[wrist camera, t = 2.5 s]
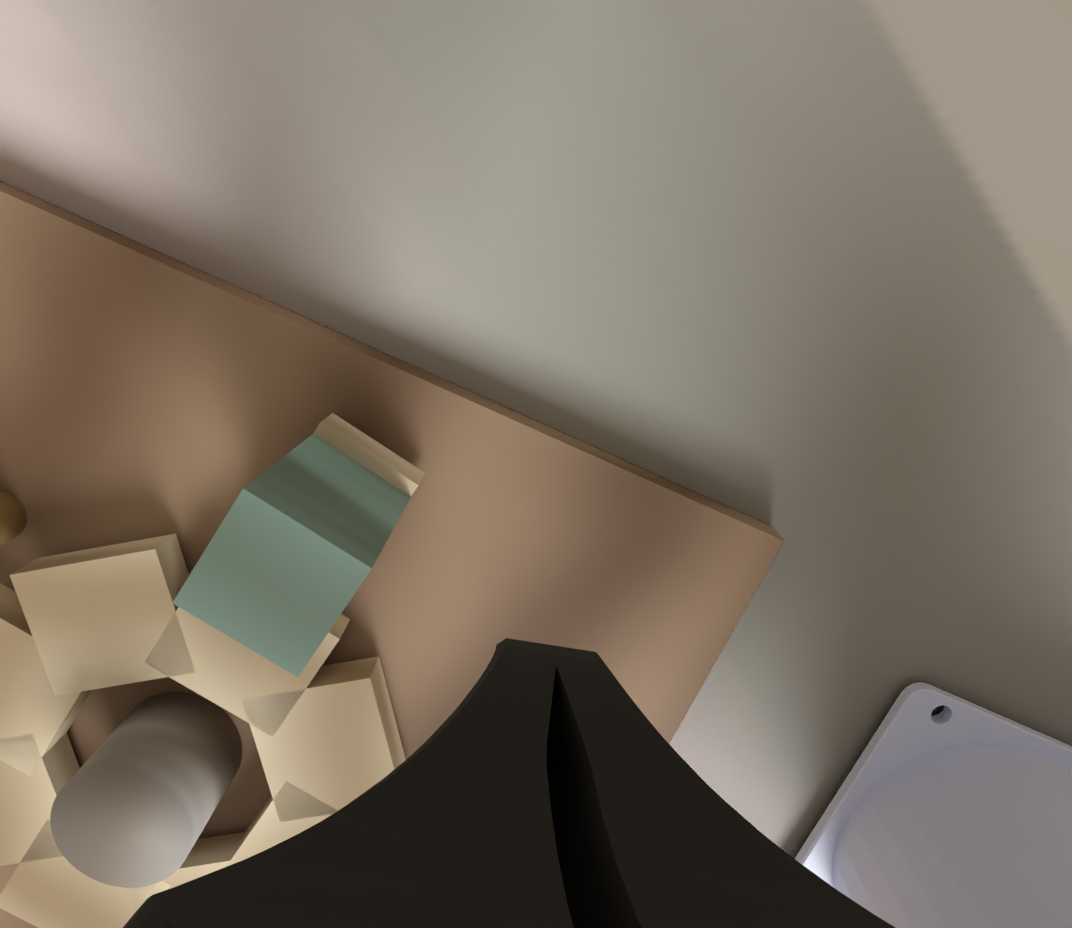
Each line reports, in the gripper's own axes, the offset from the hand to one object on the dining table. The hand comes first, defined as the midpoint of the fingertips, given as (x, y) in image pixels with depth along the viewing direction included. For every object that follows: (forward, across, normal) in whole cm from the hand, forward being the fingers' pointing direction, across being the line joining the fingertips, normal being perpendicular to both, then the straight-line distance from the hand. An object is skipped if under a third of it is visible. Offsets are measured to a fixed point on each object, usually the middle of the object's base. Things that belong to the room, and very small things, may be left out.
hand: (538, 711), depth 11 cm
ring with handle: (+8, +7, +6) cm, 12 cm away
